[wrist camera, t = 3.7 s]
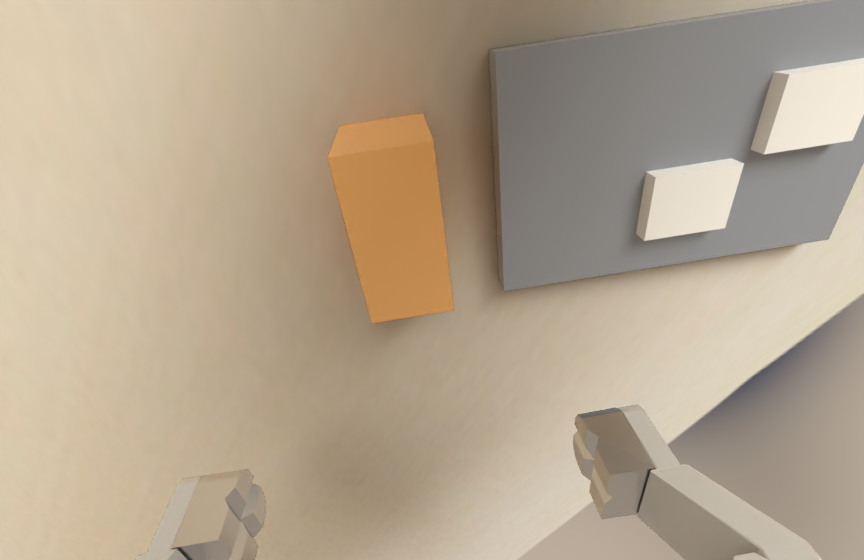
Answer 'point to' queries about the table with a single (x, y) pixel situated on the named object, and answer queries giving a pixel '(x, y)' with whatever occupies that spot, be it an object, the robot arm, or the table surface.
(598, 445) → the robot arm
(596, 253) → the board
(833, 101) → the mark
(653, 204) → the mark
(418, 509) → the table surface
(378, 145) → the block
